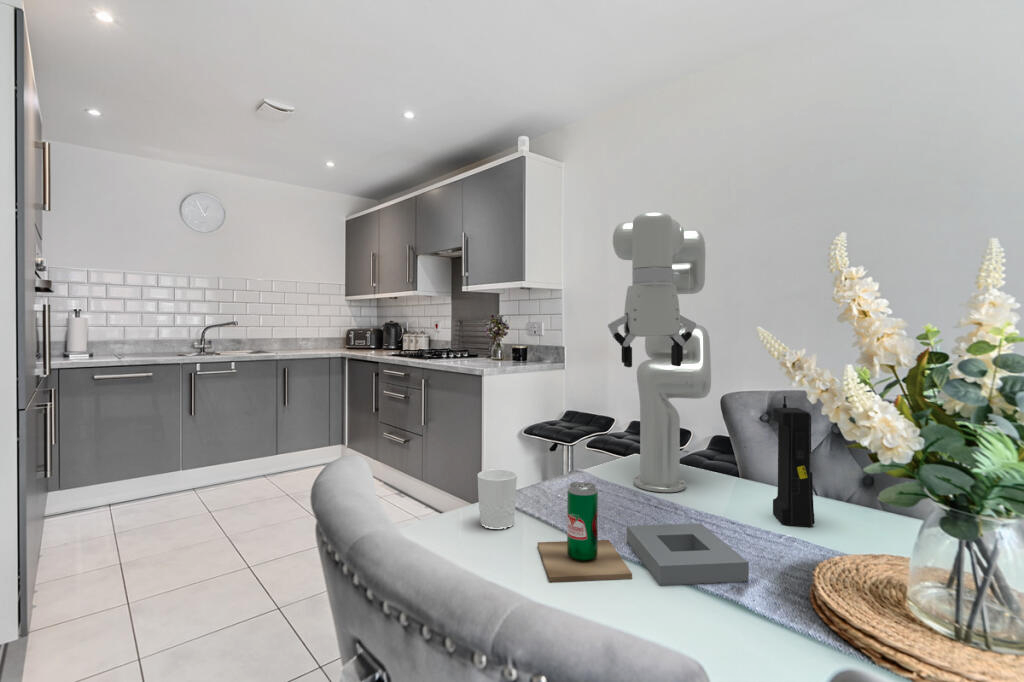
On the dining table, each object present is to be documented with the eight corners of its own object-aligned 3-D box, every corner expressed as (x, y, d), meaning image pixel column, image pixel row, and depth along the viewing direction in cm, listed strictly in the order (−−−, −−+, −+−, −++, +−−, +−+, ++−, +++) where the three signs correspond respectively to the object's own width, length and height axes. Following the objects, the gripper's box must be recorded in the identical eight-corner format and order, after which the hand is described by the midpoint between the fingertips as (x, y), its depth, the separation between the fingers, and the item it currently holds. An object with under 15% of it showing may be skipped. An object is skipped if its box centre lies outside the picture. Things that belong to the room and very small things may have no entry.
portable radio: (818, 530, 99) (819, 401, 98) (784, 527, 100) (785, 400, 99) (803, 515, 106) (804, 396, 106) (772, 513, 107) (773, 395, 107)
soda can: (560, 555, 85) (561, 484, 85) (580, 547, 89) (581, 478, 88) (583, 566, 81) (584, 491, 81) (603, 557, 85) (604, 485, 85)
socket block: (626, 542, 93) (626, 525, 93) (700, 539, 94) (700, 523, 94) (660, 585, 77) (660, 565, 77) (748, 581, 78) (748, 562, 78)
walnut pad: (537, 546, 91) (537, 542, 91) (608, 544, 92) (608, 539, 92) (549, 582, 78) (549, 577, 78) (632, 578, 79) (632, 573, 79)
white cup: (469, 523, 102) (469, 473, 102) (500, 514, 107) (500, 466, 107) (493, 535, 96) (493, 482, 96) (525, 525, 101) (525, 475, 101)
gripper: (687, 279, 103) (686, 363, 104) (603, 280, 102) (603, 365, 103) (704, 276, 96) (703, 367, 97) (613, 277, 95) (613, 369, 95)
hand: (652, 366), depth 100 cm, fingers open, 9 cm apart
